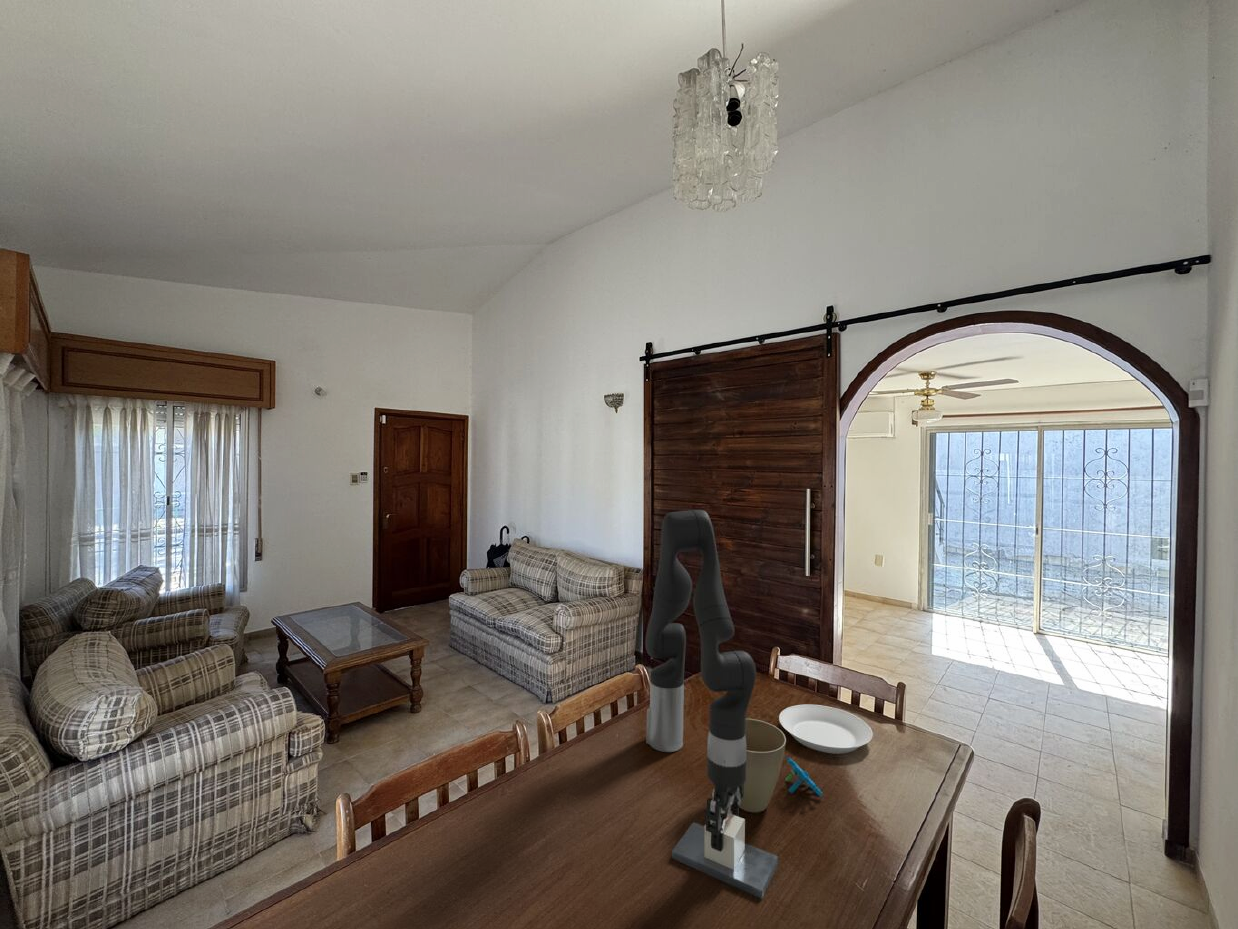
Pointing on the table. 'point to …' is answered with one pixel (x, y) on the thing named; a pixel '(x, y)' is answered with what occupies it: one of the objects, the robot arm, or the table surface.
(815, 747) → the bowl
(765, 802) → the plant pot
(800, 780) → the gear
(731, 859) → the white and orange block
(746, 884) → the panel
